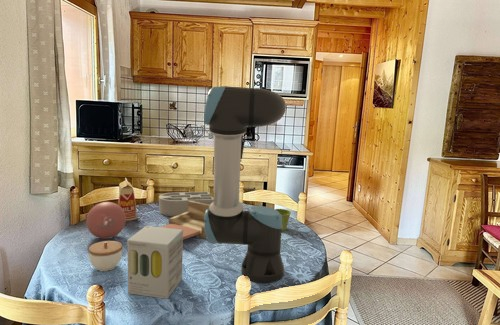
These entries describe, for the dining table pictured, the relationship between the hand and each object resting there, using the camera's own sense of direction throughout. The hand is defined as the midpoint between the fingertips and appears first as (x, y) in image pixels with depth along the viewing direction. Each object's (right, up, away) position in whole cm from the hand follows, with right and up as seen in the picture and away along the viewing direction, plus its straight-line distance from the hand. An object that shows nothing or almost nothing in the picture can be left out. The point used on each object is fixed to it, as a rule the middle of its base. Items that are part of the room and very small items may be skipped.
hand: (235, 175), depth 159 cm
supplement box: (-23, -34, -48) cm, 63 cm away
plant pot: (+22, -27, +9) cm, 35 cm away
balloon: (-54, -27, -14) cm, 61 cm away
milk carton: (-55, -22, +14) cm, 61 cm away
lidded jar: (-44, -31, -38) cm, 65 cm away
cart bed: (-18, -25, +4) cm, 31 cm away
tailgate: (-22, -24, -3) cm, 33 cm away
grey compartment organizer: (-28, -21, +29) cm, 46 cm away
